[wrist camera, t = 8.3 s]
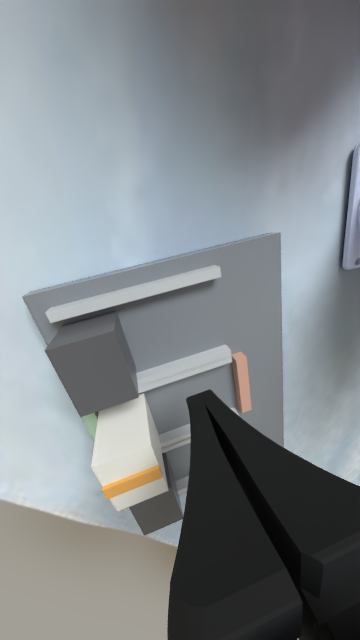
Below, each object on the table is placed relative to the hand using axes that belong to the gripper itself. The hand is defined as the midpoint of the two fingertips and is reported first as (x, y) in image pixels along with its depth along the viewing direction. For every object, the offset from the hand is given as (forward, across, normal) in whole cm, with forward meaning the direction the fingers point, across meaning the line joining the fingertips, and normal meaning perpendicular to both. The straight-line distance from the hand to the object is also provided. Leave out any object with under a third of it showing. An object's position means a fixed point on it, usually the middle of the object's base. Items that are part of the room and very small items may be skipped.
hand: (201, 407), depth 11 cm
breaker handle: (+4, +5, +3) cm, 7 cm away
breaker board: (+5, -1, +3) cm, 6 cm away
